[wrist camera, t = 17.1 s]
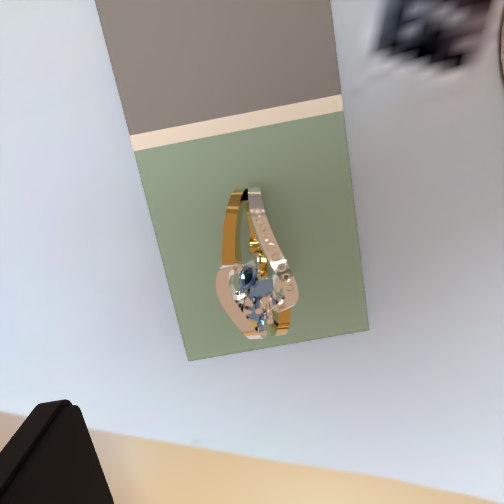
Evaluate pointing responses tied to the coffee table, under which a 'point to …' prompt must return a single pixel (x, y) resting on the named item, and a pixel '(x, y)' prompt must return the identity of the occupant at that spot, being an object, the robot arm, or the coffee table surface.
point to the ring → (254, 271)
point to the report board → (241, 153)
